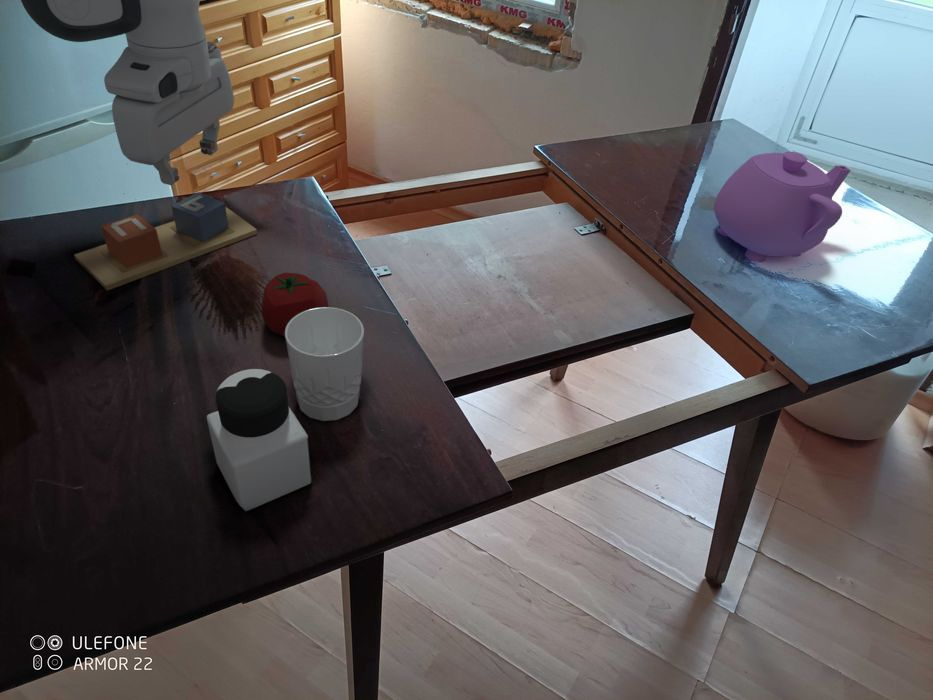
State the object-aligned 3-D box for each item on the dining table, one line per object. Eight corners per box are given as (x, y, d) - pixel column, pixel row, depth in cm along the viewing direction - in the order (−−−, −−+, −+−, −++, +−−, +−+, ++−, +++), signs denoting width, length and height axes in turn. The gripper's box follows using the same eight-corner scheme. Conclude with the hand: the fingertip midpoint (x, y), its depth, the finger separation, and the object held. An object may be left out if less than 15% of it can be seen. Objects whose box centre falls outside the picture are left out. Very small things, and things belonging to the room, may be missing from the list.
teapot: (865, 272, 107) (915, 185, 98) (763, 288, 101) (806, 197, 91) (783, 209, 121) (819, 127, 111) (688, 220, 115) (718, 135, 105)
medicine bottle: (313, 484, 67) (305, 398, 60) (242, 514, 64) (224, 428, 56) (284, 436, 72) (273, 350, 64) (216, 463, 68) (196, 375, 60)
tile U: (108, 251, 92) (100, 225, 89) (144, 239, 95) (137, 213, 92) (126, 268, 89) (118, 241, 87) (162, 255, 92) (156, 228, 90)
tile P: (202, 216, 100) (198, 191, 98) (228, 227, 99) (224, 202, 96) (176, 230, 97) (170, 205, 94) (203, 242, 95) (198, 216, 93)
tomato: (268, 350, 81) (262, 302, 76) (258, 310, 87) (251, 263, 82) (335, 339, 84) (333, 291, 79) (321, 300, 89) (318, 254, 85)
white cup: (300, 372, 79) (294, 303, 72) (369, 378, 79) (368, 310, 73) (284, 422, 73) (276, 352, 66) (358, 428, 73) (357, 359, 67)
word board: (75, 259, 91) (73, 253, 91) (223, 209, 104) (222, 203, 103) (107, 290, 87) (105, 285, 86) (257, 234, 100) (256, 228, 99)
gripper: (195, 33, 91) (211, 132, 100) (93, 83, 76) (122, 195, 85) (238, 41, 90) (250, 141, 99) (144, 94, 75) (168, 206, 84)
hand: (190, 166), depth 92 cm, fingers open, 8 cm apart
